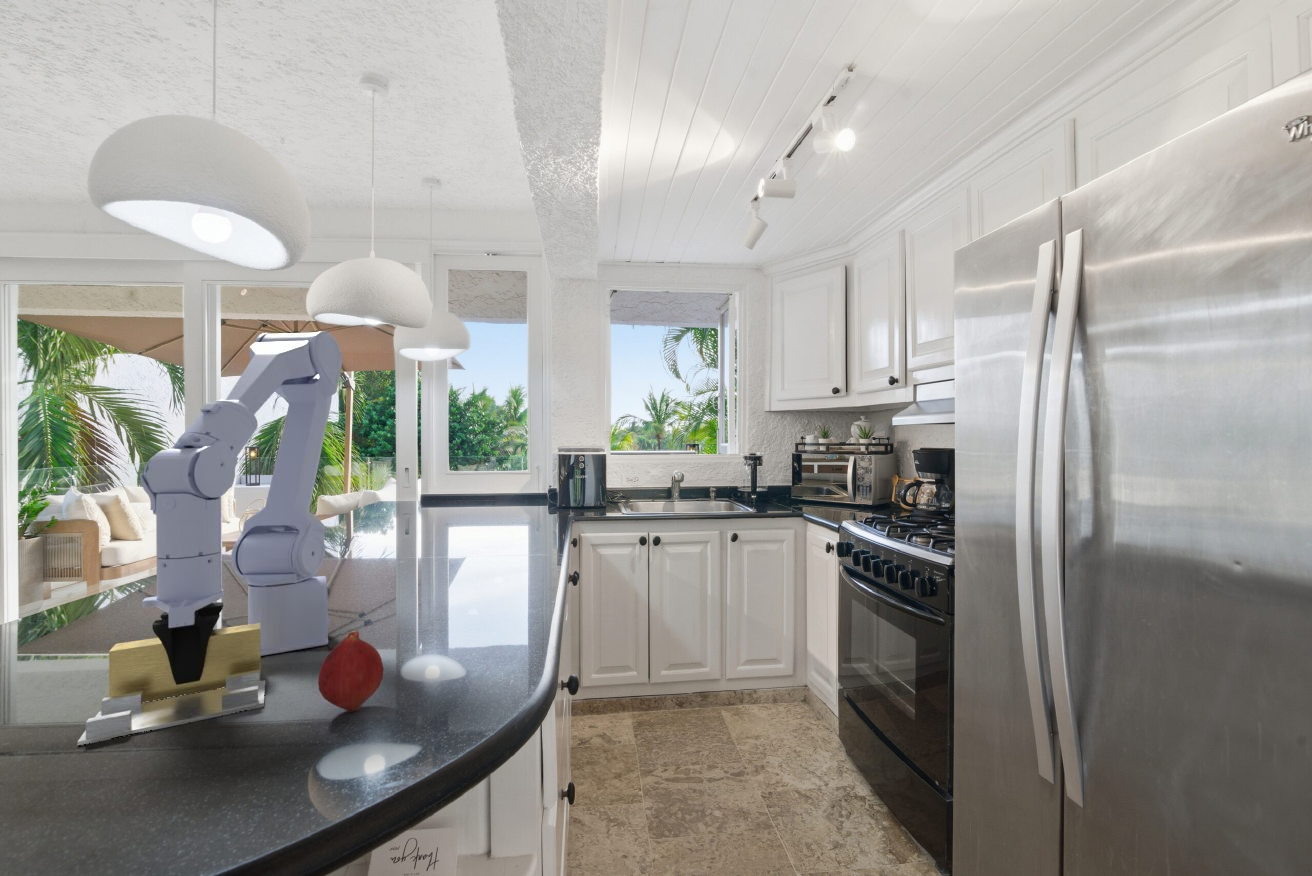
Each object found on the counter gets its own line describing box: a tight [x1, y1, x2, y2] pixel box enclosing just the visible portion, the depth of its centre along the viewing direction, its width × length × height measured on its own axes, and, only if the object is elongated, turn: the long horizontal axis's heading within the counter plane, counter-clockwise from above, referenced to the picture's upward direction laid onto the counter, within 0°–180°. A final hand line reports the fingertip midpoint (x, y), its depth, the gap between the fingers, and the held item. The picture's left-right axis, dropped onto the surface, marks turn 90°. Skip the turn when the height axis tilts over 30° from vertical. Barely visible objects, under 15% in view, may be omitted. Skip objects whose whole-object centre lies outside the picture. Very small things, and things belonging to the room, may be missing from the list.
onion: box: [317, 630, 384, 712], centre depth 59 cm, size 6×6×8 cm
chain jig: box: [77, 670, 266, 746], centre depth 60 cm, size 14×8×2 cm, turn 123°
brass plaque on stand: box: [108, 623, 262, 702], centre depth 66 cm, size 13×3×6 cm, turn 123°
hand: (190, 676), depth 66 cm, fingers closed on brass plaque on stand, 3 cm apart
